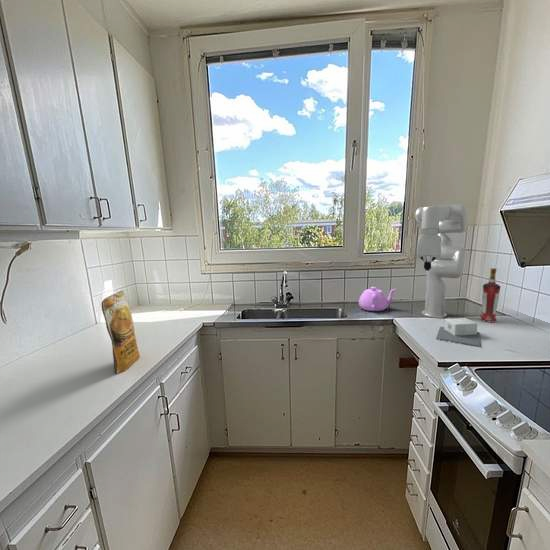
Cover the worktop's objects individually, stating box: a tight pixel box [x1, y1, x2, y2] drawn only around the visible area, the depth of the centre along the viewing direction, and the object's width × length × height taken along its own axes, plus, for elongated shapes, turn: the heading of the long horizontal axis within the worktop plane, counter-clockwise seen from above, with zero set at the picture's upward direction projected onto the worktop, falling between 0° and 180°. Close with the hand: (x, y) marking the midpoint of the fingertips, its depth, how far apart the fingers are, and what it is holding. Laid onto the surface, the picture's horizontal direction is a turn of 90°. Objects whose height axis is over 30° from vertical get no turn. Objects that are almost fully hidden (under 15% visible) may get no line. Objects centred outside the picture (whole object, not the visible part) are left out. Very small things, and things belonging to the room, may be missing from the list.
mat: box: [435, 326, 481, 348], centre depth 131 cm, size 18×16×1 cm
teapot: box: [358, 286, 397, 312], centre depth 177 cm, size 22×22×14 cm
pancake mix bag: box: [101, 290, 141, 374], centre depth 109 cm, size 7×19×28 cm, turn 0°
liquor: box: [480, 267, 501, 323], centre depth 150 cm, size 7×7×28 cm
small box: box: [443, 317, 478, 336], centre depth 134 cm, size 8×6×10 cm
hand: (427, 270), depth 140 cm, fingers closed
